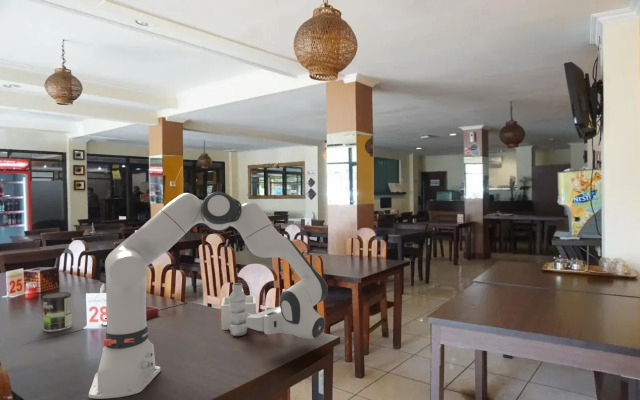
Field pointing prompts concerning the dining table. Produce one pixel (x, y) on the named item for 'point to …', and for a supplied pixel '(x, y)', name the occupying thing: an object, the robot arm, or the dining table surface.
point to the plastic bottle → (237, 311)
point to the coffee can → (57, 311)
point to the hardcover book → (151, 312)
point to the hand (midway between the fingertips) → (258, 312)
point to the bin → (226, 310)
